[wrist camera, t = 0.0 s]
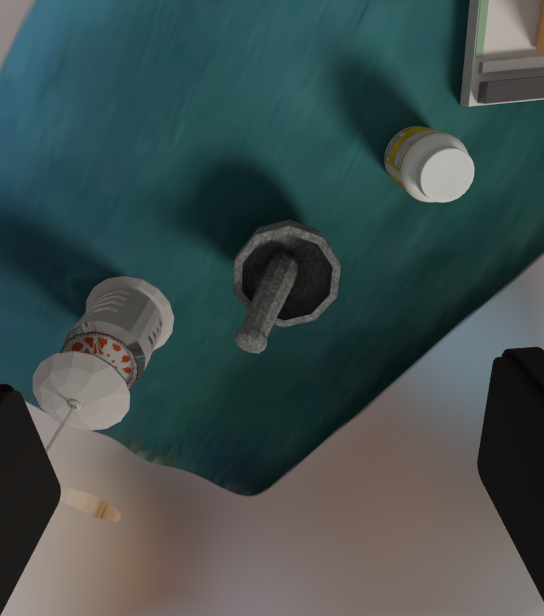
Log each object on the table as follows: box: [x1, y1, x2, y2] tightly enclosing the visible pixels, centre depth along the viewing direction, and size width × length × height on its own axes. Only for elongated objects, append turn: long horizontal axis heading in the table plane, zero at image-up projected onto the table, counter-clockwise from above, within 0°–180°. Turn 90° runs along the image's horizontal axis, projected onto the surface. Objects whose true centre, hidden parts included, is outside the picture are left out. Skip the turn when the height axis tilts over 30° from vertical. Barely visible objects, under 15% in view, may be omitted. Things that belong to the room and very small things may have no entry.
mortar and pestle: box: [234, 219, 341, 353], centre depth 41 cm, size 11×9×12 cm
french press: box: [33, 276, 174, 453], centre depth 39 cm, size 10×12×25 cm
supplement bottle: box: [384, 126, 474, 202], centre depth 37 cm, size 5×5×10 cm
